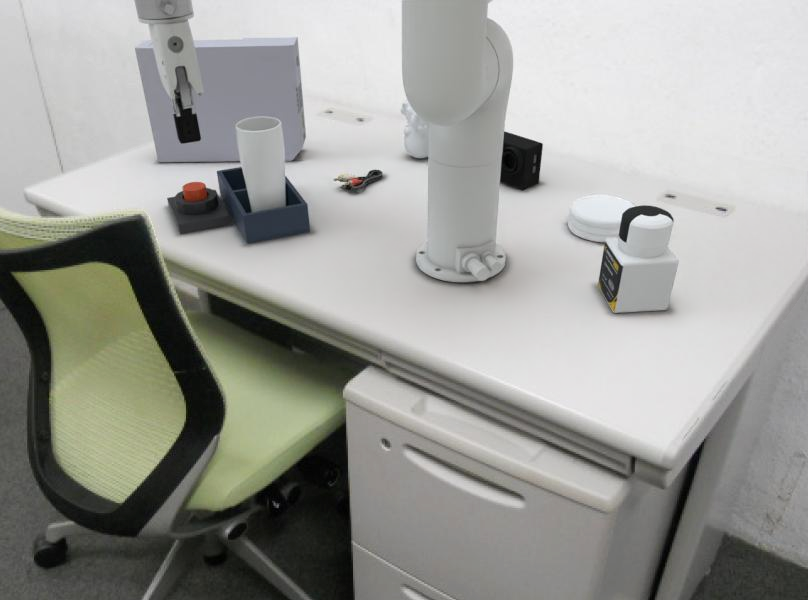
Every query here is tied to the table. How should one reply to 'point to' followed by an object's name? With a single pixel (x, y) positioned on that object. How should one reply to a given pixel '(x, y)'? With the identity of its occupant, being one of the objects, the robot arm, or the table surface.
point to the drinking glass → (262, 161)
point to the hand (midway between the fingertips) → (189, 140)
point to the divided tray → (266, 221)
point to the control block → (198, 212)
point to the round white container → (597, 216)
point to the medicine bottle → (639, 262)
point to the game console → (228, 96)
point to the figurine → (415, 132)
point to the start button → (194, 191)
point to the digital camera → (520, 161)
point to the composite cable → (358, 180)
